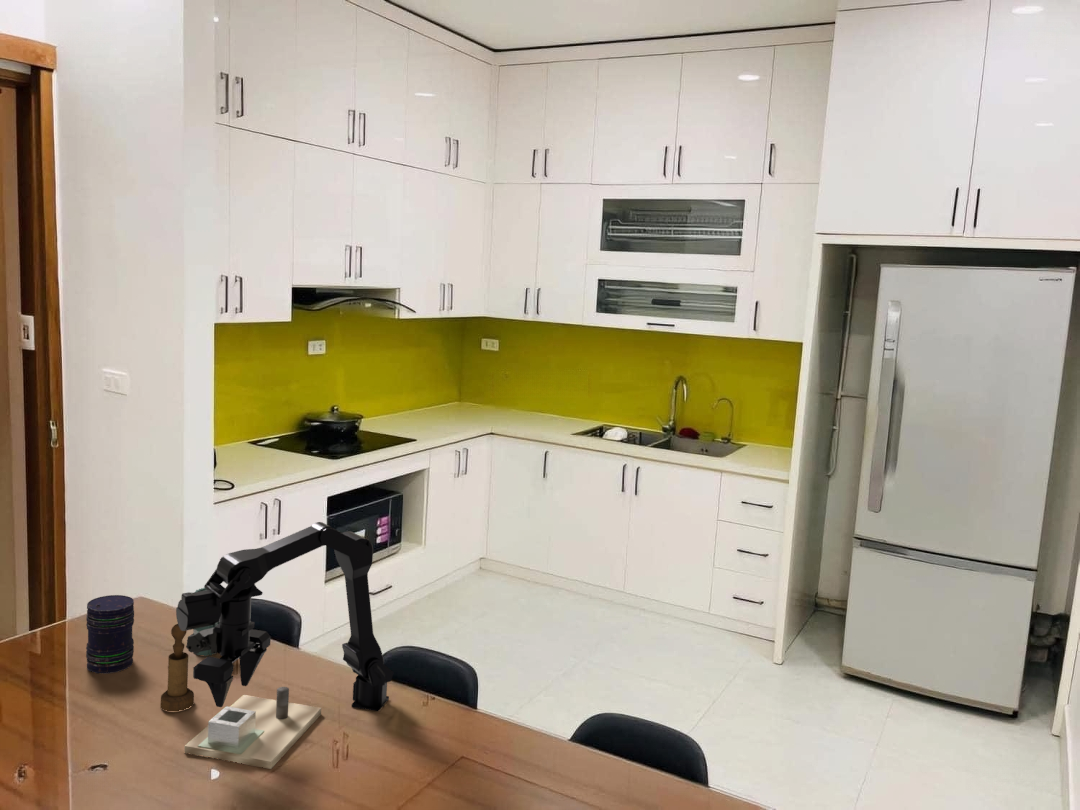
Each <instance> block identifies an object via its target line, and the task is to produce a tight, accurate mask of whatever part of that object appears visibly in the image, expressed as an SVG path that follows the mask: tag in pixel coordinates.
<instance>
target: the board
mask: <svg viewBox="0 0 1080 810" xmlns="http://www.w3.org/2000/svg"><path fill="white" fill-rule="evenodd" d="M289 699H290V688H289V687H288V686H280V687H278V688H276V699H272V698H265V697H260V696H259V697H258V696H253V695H249V694H248V695H247V694H243V695H242V696H240V697H239V698H238V699H237V700H236V701H235V702H233V703H232V705H230V706H229V707H233V708H239V709H245V710H251V711H256V721H255V733H254V734H253V735H252V736H251V737H250V738H249V739H248V740H247V741H246V742H245V743H244V744H243V745H242V746H241V747H240V748H239V749H236V748H231V747H225V746H220V745H214V744H209V743H208V725H207V726H205V728H204V729H202V730H201V731H200V732H199V733H198V734H197V735H195V736H194V737H193V738H192V739H190V741H188V742H187V743H186V744H185V745H184V750H183V751H184V752H185V753H184V754H187V753H190V754H189V755H192V754H196V755H195V756H198V755H203V756H210V757H213V758H212V759H214V758H218V759H217V760H219V759H222V760H221V761H225V760H228V761H227V762H230V761H233V762H232V763H235V762H237V763H236V764H241V763H242V764H241V765H243V764H244V765H246V766H252V767H258V768H262V767H263V769H269V770H272V768H274V766H275V765H276V764H277V763H278V762H279V761H280V760H281V759H282V758H283V756H284V755H285V754H286V753H287V752H288V751H289V750H290V749H291V748H292V746H293V745H295V744H296V742H297V741H298V740H300V738H301V737H302V736H303V735H304V734H305V733H306V731H307V730H308V729H309V728H310V727H311V726H312V725H313V724H314V723H315V722H316V721H317V720H318V719H319V717H320V716H322V707H320V706H319V707H318V706H313V705H312V706H311V705H308V704H307V705H306V704H301V703H294V702H289V701H290V700H289ZM203 756H202V757H203ZM281 757H282V758H281Z"/></svg>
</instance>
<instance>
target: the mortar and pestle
mask: <svg viewBox="0 0 1080 810" xmlns="http://www.w3.org/2000/svg"><path fill="white" fill-rule="evenodd" d="M187 632H188V630H187V631H182V630H181V629H180V628H179V625H178V623H176V624H174V625H173V626H172V627H171V630H170V634H171V636H172V637H173V639H174V644H173V645H172V650H173V652H172V653H170V654H169V655H168V661H167V663H168V666H167V667H168V668H167V669H168V670H167V673H168V674H167V675H168V676H167V690H165V691H164V692H163V693H162V694H161V695H160V709H161V708H162V709H164V710H167V711H179V710H184V709H186V708H189V707H190V706H192V705H193V706H194V704H195V692H194V691H193V690H192V689H190V688H188V684H189V683H188V681H189V680H188V678H189V674H188V673H189V654H188V653H187V652H184V649H185V643H184V642H183V639H185V638H184V637H185V636H186V635H187ZM193 703H194V704H193ZM193 706H192V707H193ZM162 709H161V710H162ZM189 709H190V708H189ZM164 710H163V711H164Z"/></svg>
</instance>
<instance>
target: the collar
mask: <svg viewBox="0 0 1080 810" xmlns="http://www.w3.org/2000/svg"><path fill="white" fill-rule="evenodd" d="M255 721H256V711H251V710H245V709H239V708H233V707H230V706H227V705H226V706H225V707H224V708H222V709H221V710H220V711H219V712H218V713H216V715H214V716H213V717H212V718H211V719H209V721H208V722H207V723H208V725H207V726H208V743H209V744H214V745H220V746H225V747H231V748H236V749H239V748H240V747H241V746H242V745H243V744H244V743H245V742H246V741H247V740H248V739H249V738H250V737H251V736H252V735H253V734H254V733H255Z"/></svg>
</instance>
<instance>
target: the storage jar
mask: <svg viewBox="0 0 1080 810" xmlns="http://www.w3.org/2000/svg"><path fill="white" fill-rule="evenodd" d="M134 604H135V600H134V599H133V597H131V596H128V595H119V594H113V595H104V596H99V597H95V598H93V599H91V600H89V601H88V602H87V603H86V609H87V610H86V616H85V617H86V625H85V626H86V630H87V643H86V648H85V649H86V652H85V654H86V656H85V657H86V662H87V663H86V669H87V671H89V672H91V671H92V672H91V673H93V672H95V674H99V673H101V674H102V673H103V675H104V674H107V675H108V674H113V673H114V674H115V673H119V672H121V670H122V671H125V670H127V669H129V668H130V667H131V666H132V665H133V664H132V663H134V658H133V657H134V650H135V647H134V645H135V642H134V638H133V626H134V625H135V624H134V623H135V619H134V618H135V610H134V609H135V607H134ZM128 667H129V668H128ZM124 669H125V670H124ZM118 671H119V672H118ZM101 674H100V675H101Z"/></svg>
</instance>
